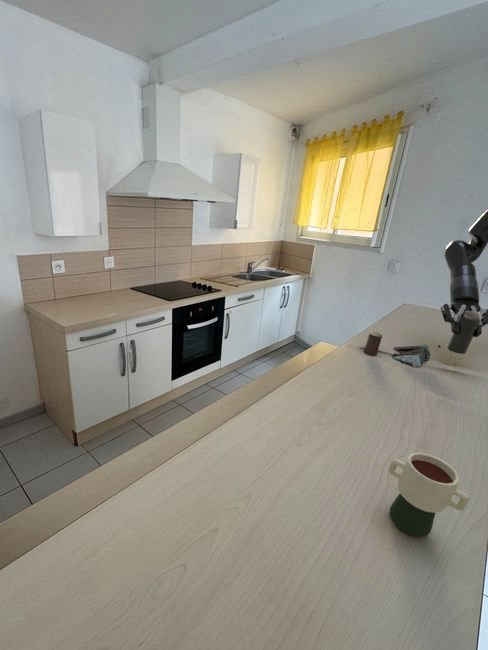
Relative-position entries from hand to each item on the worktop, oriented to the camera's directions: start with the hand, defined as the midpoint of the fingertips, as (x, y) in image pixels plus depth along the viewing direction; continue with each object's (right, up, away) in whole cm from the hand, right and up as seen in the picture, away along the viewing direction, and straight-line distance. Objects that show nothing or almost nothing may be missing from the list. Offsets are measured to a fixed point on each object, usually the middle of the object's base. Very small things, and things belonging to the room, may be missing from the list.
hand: (466, 334), depth 107 cm
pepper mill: (0, -5, +4) cm, 7 cm away
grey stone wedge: (-12, -10, +12) cm, 20 cm away
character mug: (-53, -34, -49) cm, 80 cm away
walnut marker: (-22, -7, +17) cm, 29 cm away
